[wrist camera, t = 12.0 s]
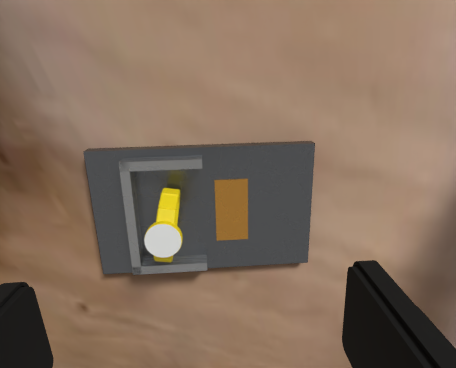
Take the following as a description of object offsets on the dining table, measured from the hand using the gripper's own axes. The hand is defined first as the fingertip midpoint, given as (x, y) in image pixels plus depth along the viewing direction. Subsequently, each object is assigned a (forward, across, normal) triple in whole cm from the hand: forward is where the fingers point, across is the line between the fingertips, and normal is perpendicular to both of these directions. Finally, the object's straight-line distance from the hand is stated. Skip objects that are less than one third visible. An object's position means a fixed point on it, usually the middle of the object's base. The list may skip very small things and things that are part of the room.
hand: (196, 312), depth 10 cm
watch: (+20, +4, +5) cm, 20 cm away
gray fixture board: (+21, +1, +5) cm, 21 cm away
